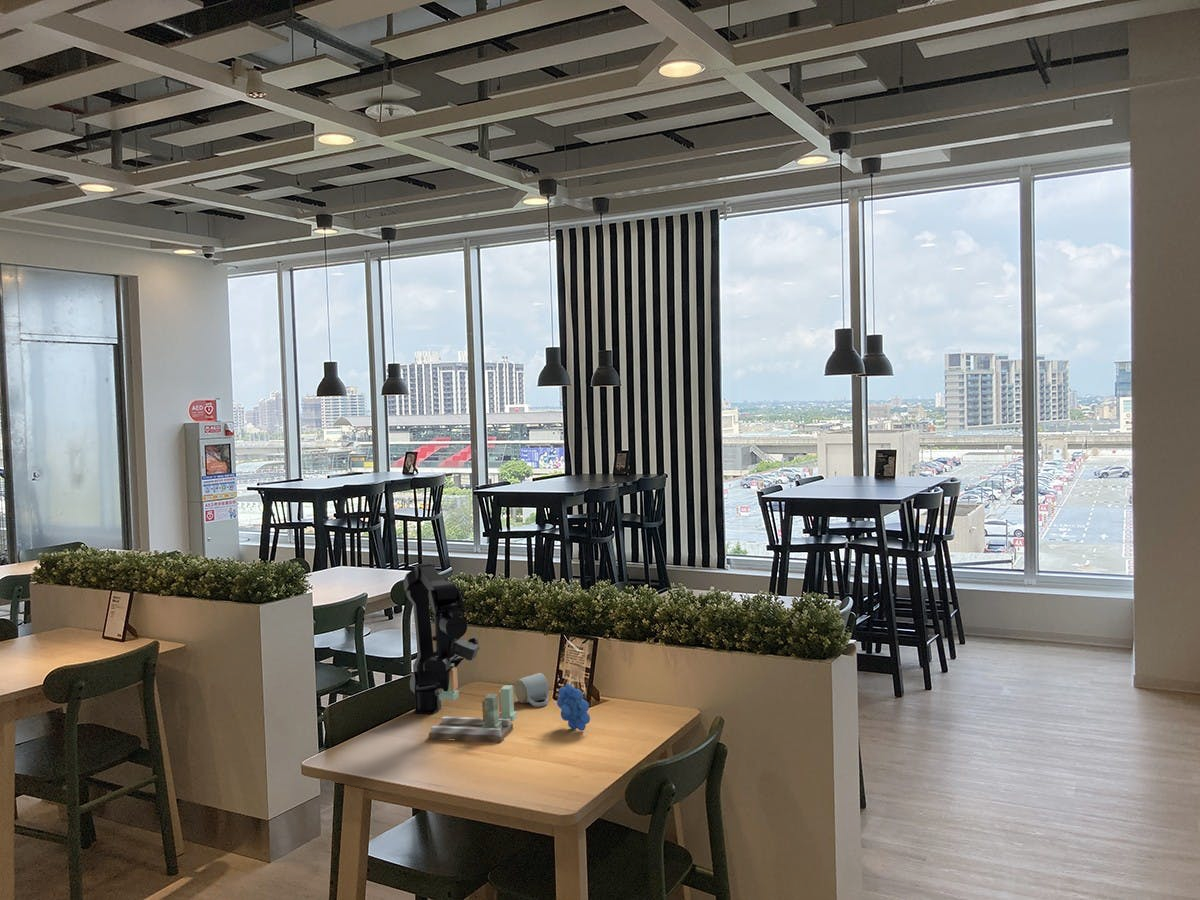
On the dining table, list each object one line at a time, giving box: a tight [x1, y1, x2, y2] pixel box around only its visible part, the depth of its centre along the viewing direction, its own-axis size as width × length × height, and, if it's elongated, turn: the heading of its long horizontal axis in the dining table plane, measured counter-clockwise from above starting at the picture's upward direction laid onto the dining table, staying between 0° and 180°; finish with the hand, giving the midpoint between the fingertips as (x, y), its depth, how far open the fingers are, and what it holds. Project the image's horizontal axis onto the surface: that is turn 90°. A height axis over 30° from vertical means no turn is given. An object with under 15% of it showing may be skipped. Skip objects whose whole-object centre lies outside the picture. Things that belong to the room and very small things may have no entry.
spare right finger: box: [497, 684, 518, 722], centre depth 268 cm, size 4×4×9 cm
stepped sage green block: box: [439, 663, 460, 702], centre depth 258 cm, size 4×4×9 cm
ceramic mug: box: [514, 672, 550, 708], centre depth 283 cm, size 11×8×8 cm
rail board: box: [428, 693, 514, 743], centre depth 257 cm, size 20×10×10 cm, turn 77°
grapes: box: [556, 683, 591, 732], centre depth 257 cm, size 12×7×12 cm, turn 46°
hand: (448, 688), depth 258 cm, fingers closed on stepped sage green block, 4 cm apart
